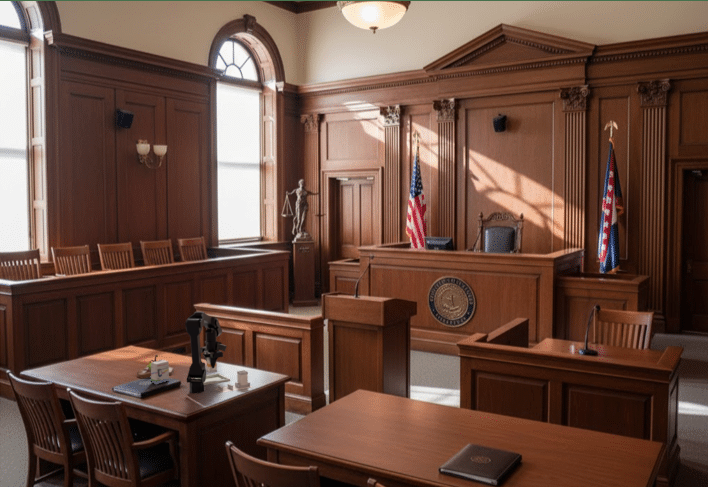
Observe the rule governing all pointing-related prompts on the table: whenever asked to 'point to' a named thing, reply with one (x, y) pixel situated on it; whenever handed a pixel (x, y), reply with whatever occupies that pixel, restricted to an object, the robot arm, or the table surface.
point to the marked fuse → (209, 367)
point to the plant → (147, 371)
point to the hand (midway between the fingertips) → (211, 367)
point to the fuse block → (232, 387)
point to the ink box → (159, 370)
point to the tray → (213, 378)
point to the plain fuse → (242, 378)
